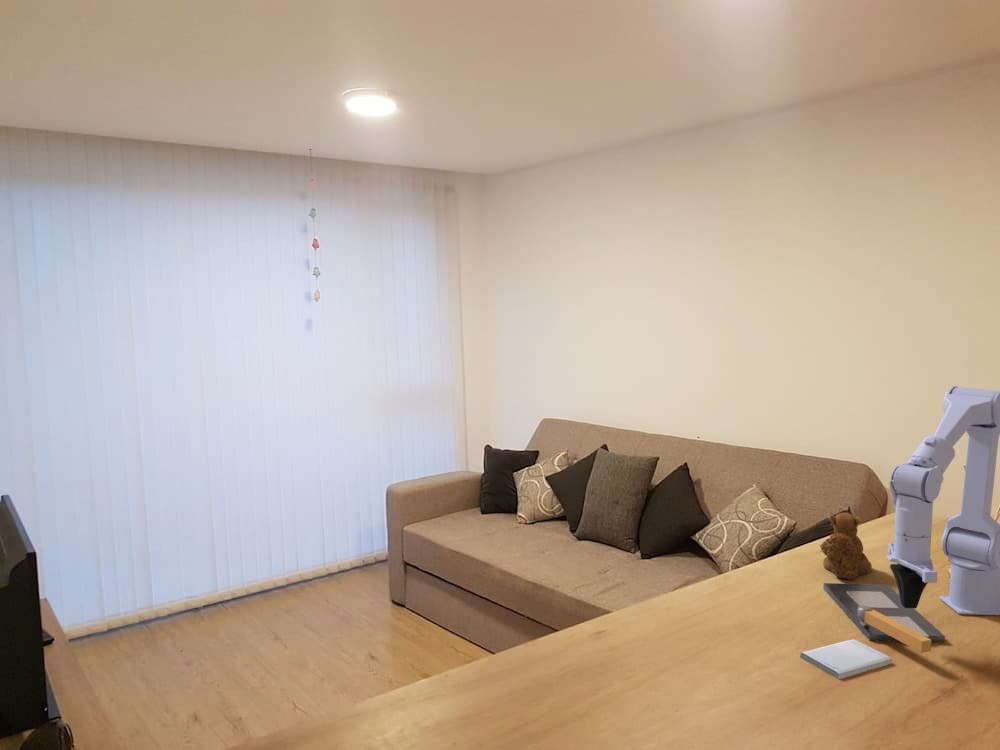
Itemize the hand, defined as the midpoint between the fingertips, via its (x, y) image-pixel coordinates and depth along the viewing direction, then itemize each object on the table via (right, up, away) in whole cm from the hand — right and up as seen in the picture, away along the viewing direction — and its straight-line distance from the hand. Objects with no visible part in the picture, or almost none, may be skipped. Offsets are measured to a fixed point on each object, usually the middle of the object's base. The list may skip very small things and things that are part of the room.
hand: (909, 606), depth 135 cm
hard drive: (-14, -8, -6) cm, 17 cm away
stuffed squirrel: (+4, -3, +34) cm, 34 cm away
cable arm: (-4, -4, -1) cm, 6 cm away
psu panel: (+1, -5, +13) cm, 14 cm away
